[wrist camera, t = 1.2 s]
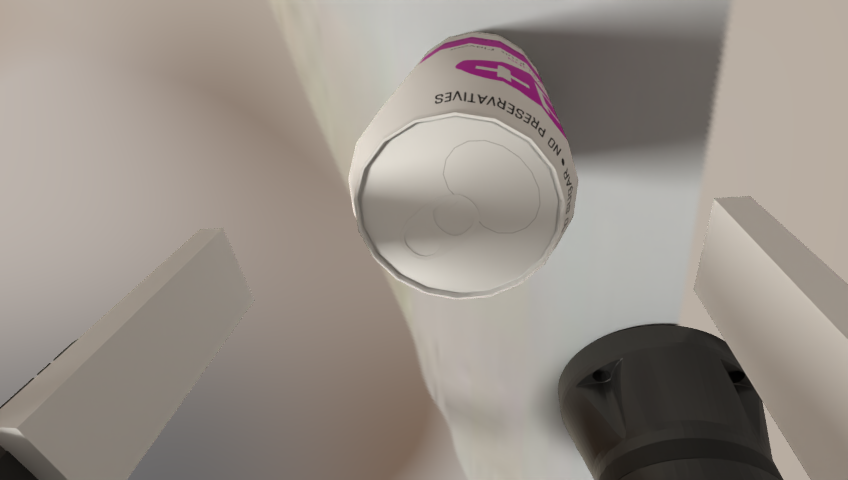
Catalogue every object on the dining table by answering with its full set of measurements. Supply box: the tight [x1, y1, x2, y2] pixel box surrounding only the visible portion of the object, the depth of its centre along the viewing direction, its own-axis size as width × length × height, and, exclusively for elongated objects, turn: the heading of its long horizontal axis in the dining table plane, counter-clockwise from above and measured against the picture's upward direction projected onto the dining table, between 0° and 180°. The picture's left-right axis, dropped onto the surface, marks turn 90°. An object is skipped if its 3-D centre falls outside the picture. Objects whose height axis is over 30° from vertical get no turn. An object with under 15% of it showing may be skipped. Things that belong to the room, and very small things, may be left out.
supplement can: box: [348, 31, 578, 300], centre depth 21 cm, size 8×8×15 cm
